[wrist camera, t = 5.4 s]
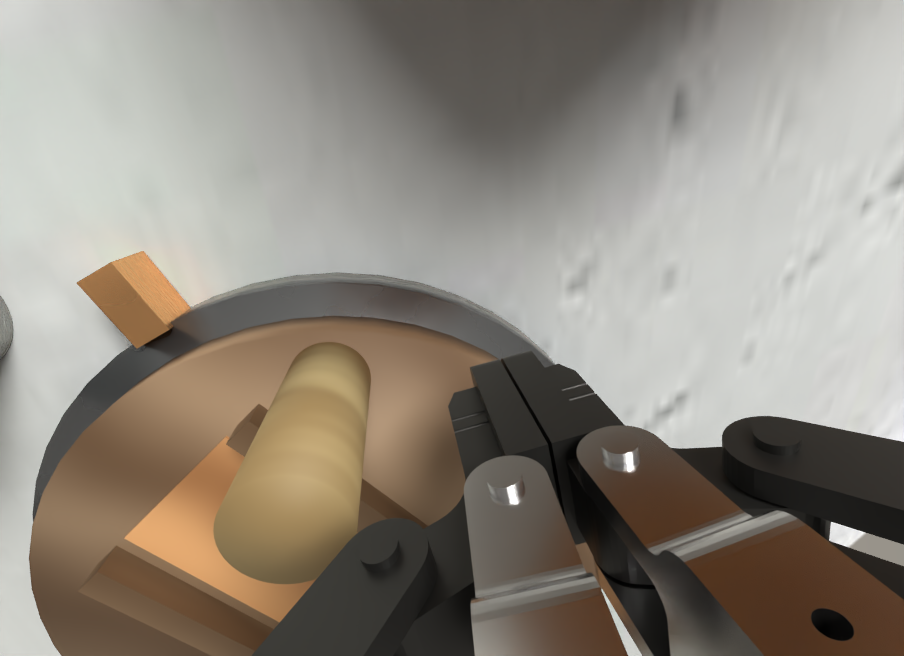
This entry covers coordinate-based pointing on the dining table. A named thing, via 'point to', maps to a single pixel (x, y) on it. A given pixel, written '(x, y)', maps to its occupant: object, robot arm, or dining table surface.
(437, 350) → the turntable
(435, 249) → the dining table surface
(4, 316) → the banded metal capsule
